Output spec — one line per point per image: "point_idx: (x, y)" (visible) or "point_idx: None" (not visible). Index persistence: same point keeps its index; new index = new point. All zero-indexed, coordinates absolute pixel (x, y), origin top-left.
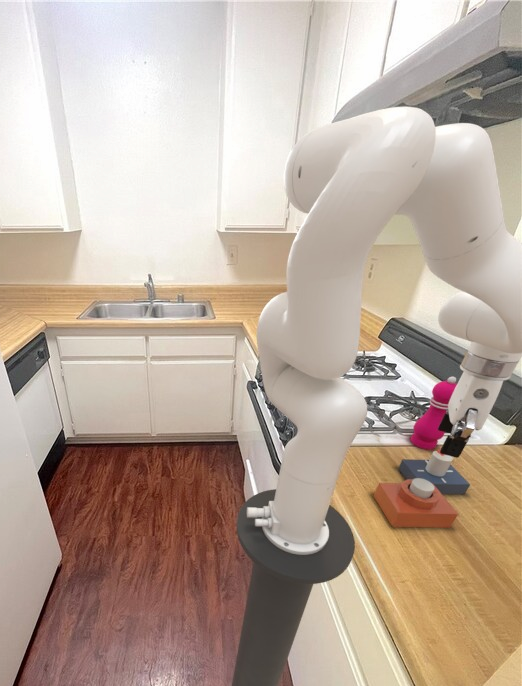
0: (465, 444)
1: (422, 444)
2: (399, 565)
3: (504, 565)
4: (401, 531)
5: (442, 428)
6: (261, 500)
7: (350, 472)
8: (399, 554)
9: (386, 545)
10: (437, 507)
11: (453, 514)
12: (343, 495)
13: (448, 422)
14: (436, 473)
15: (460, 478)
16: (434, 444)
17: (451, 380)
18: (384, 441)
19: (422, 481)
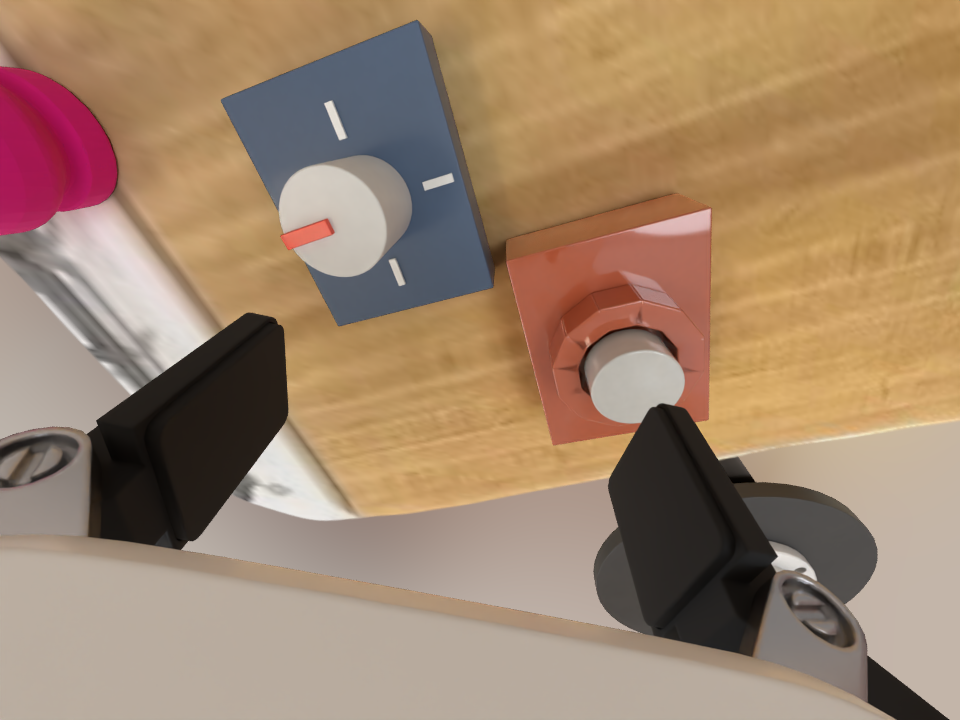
0: (746, 515)
1: (98, 169)
2: (830, 389)
3: (900, 11)
4: None
5: (274, 417)
6: (643, 619)
7: (447, 445)
8: (792, 381)
9: (756, 405)
10: (672, 287)
11: (709, 228)
12: (563, 471)
13: (229, 451)
14: (408, 216)
15: (378, 69)
16: (50, 101)
17: None
18: (177, 319)
19: (616, 388)
